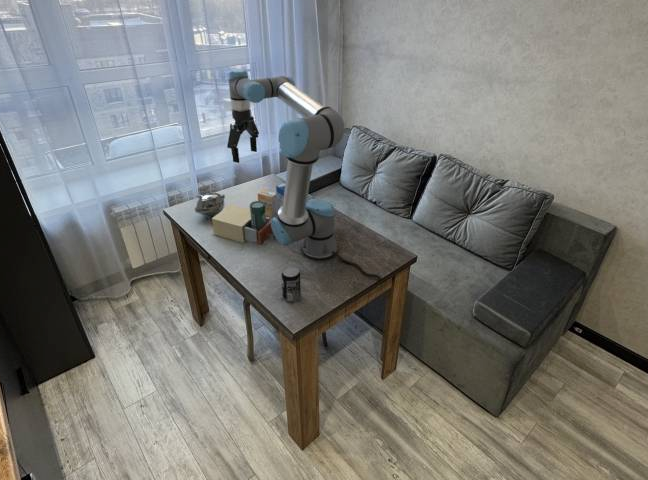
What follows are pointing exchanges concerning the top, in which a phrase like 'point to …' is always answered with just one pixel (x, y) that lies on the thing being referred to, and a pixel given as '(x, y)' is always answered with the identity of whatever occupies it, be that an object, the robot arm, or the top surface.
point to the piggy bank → (210, 204)
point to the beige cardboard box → (231, 222)
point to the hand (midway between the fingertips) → (245, 156)
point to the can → (258, 215)
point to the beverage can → (291, 283)
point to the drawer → (262, 234)
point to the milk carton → (280, 195)
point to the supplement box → (269, 202)
